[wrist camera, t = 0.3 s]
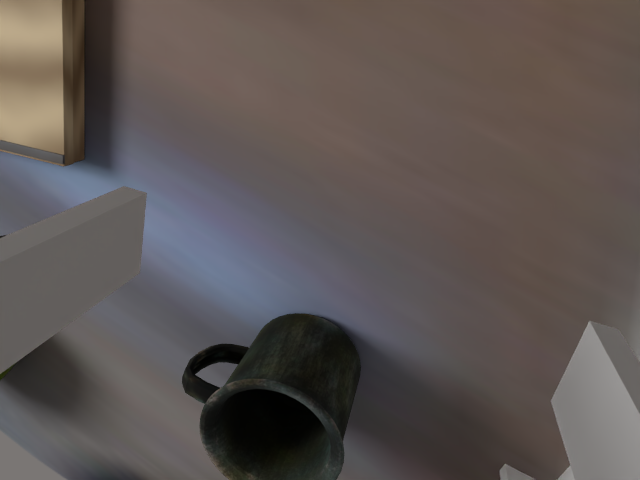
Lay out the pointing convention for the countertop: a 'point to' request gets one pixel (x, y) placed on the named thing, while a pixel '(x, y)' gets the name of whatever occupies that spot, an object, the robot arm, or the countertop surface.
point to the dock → (42, 79)
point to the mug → (279, 401)
